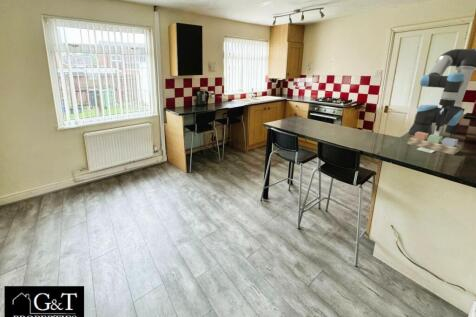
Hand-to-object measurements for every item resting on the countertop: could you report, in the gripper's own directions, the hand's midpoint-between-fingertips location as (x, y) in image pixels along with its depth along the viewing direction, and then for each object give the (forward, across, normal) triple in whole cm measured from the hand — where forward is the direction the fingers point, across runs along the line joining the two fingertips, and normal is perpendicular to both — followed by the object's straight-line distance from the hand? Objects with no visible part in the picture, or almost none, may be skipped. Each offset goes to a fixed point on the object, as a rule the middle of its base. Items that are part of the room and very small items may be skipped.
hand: (436, 135), depth 163 cm
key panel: (+8, 0, 0) cm, 8 cm away
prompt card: (+8, -12, 0) cm, 14 cm away
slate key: (+5, 0, -8) cm, 10 cm away
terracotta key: (+5, 0, +8) cm, 10 cm away
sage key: (+5, 0, 0) cm, 5 cm away
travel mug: (+8, +64, +6) cm, 65 cm away
